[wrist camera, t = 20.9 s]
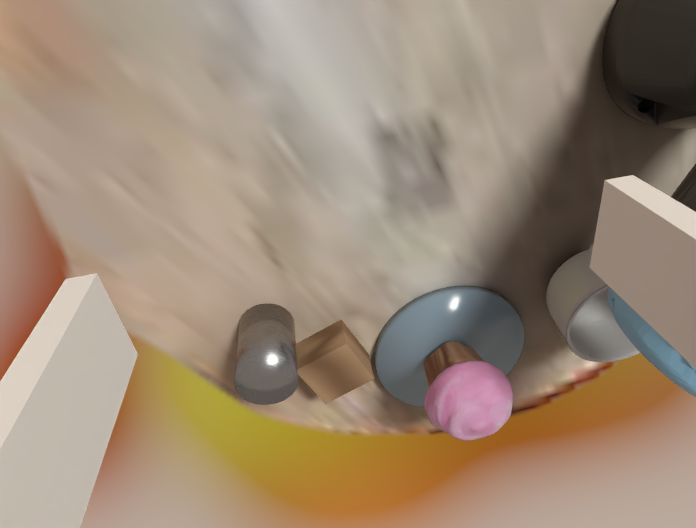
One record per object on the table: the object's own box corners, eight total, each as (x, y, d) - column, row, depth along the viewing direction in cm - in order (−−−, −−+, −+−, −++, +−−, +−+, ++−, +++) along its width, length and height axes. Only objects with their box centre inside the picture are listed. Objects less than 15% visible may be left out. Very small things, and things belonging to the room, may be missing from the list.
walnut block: (341, 318, 51) (346, 343, 47) (367, 352, 54) (374, 378, 50) (293, 344, 52) (294, 371, 48) (322, 376, 55) (325, 403, 51)
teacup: (613, 310, 55) (661, 359, 49) (523, 321, 54) (559, 372, 48) (650, 200, 48) (713, 239, 41) (547, 209, 47) (594, 251, 40)
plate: (525, 272, 50) (530, 278, 49) (515, 384, 60) (519, 391, 59) (366, 302, 50) (368, 309, 49) (381, 411, 59) (383, 419, 58)
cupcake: (395, 368, 54) (418, 444, 45) (442, 313, 50) (477, 383, 42) (455, 391, 57) (487, 465, 49) (502, 341, 54) (546, 411, 45)
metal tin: (288, 299, 48) (291, 353, 41) (298, 340, 51) (303, 397, 44) (232, 309, 48) (227, 366, 41) (246, 350, 51) (243, 409, 44)
